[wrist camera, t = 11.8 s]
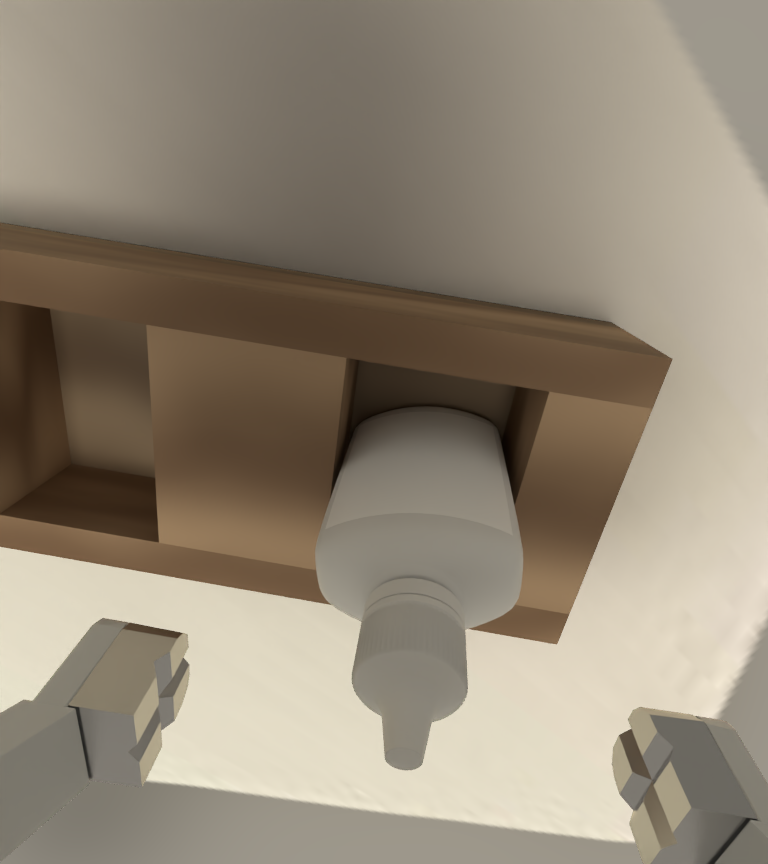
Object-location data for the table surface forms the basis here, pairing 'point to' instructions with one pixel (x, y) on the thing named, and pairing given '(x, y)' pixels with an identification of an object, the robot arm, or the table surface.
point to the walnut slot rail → (285, 412)
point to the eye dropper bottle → (419, 561)
